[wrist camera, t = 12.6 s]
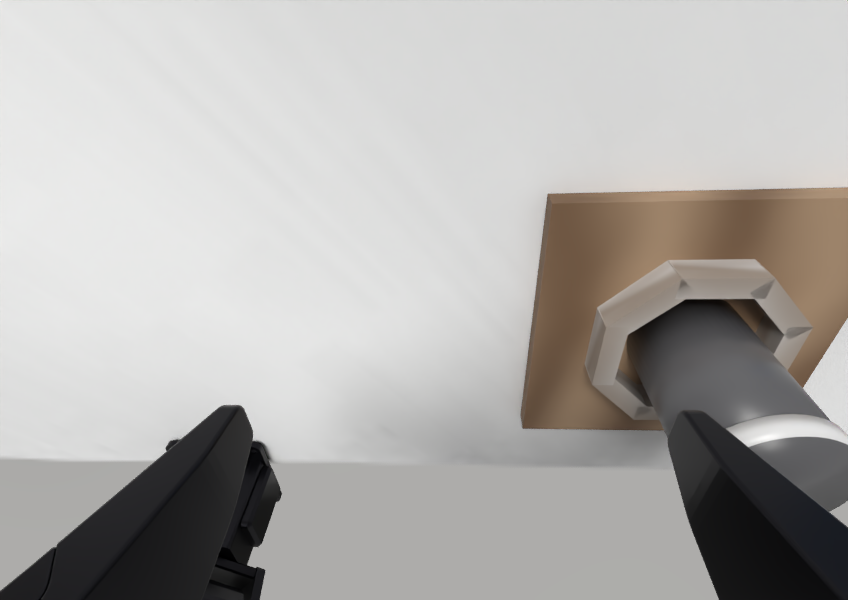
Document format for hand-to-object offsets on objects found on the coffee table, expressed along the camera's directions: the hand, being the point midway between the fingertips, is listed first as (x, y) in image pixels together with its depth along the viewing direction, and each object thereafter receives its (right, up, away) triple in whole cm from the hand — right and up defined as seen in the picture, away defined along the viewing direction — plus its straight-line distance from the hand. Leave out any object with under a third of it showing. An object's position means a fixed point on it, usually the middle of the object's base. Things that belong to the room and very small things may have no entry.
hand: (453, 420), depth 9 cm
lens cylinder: (+12, +1, +12) cm, 17 cm away
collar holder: (+12, +1, +13) cm, 18 cm away
